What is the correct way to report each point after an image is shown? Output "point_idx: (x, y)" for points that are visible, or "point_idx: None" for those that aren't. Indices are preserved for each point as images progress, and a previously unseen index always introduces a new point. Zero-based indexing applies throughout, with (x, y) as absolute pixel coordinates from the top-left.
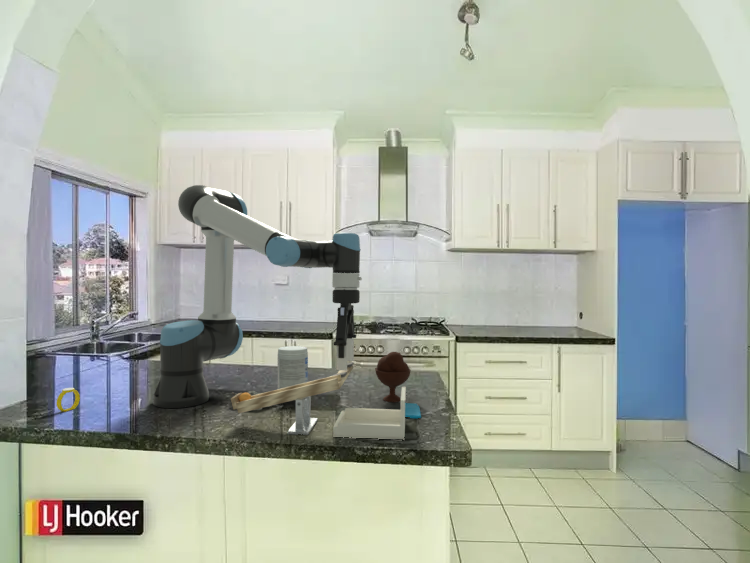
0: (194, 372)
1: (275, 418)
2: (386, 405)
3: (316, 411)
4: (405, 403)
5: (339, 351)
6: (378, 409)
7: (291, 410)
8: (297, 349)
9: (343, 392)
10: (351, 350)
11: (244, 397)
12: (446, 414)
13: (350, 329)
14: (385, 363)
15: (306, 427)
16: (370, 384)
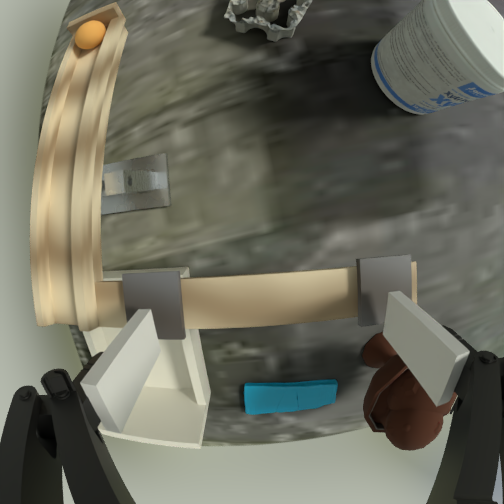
0: None
1: (168, 93)
2: (336, 347)
3: (251, 176)
4: (333, 386)
5: (83, 377)
6: (191, 365)
7: (247, 104)
8: (478, 40)
9: (443, 215)
10: (407, 354)
11: (75, 39)
12: (280, 439)
13: (446, 455)
14: (404, 406)
15: (101, 203)
16: (494, 269)
